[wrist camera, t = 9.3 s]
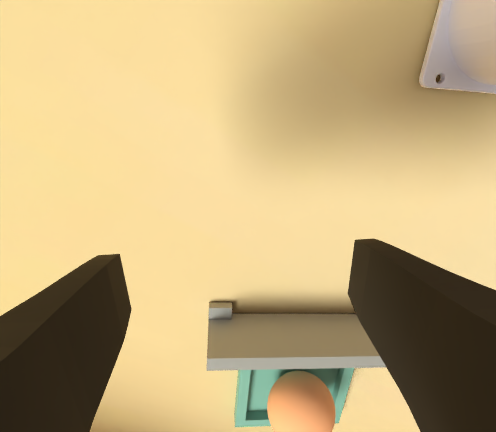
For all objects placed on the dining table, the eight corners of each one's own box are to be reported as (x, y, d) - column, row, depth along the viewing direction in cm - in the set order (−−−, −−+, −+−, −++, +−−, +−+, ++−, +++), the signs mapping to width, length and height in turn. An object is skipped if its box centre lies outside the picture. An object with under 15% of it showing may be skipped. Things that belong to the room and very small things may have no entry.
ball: (321, 351, 25) (349, 410, 20) (320, 395, 27) (345, 458, 22) (260, 361, 24) (274, 425, 20) (263, 405, 26) (276, 472, 22)
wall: (394, 303, 24) (427, 343, 20) (385, 333, 25) (414, 377, 21) (209, 302, 22) (207, 346, 18) (208, 334, 23) (206, 382, 20)
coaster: (355, 333, 25) (361, 344, 24) (334, 411, 28) (338, 423, 27) (241, 334, 24) (242, 345, 23) (234, 414, 27) (235, 427, 26)
